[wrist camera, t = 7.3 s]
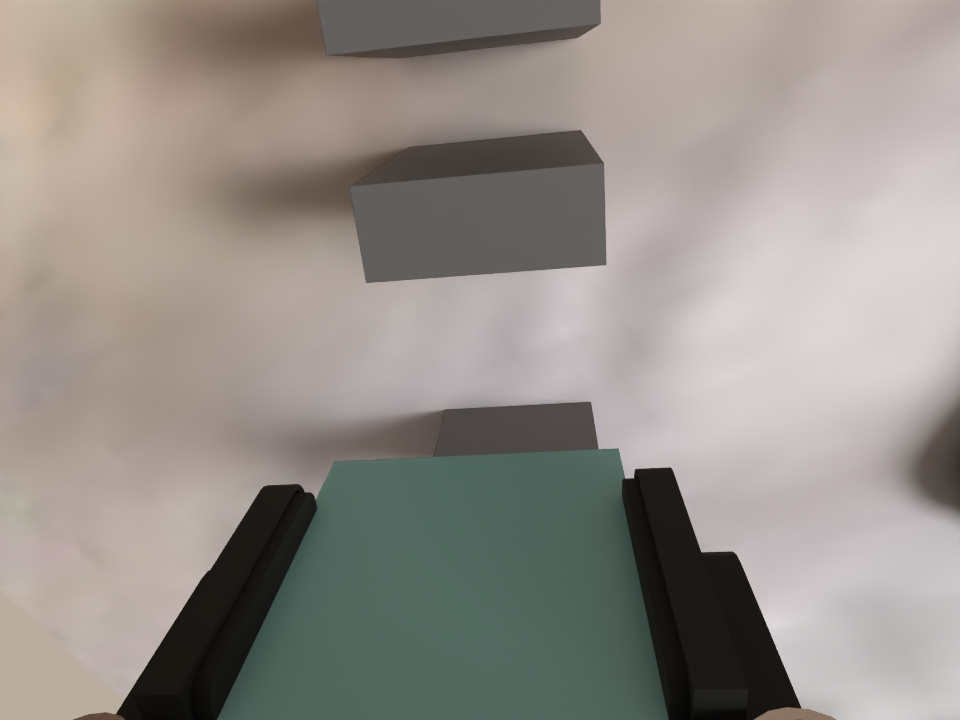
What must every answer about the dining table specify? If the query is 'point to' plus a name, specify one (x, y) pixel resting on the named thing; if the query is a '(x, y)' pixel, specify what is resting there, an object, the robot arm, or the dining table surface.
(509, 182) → the domino
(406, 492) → the domino
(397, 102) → the dining table surface
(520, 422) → the domino
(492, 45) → the domino
